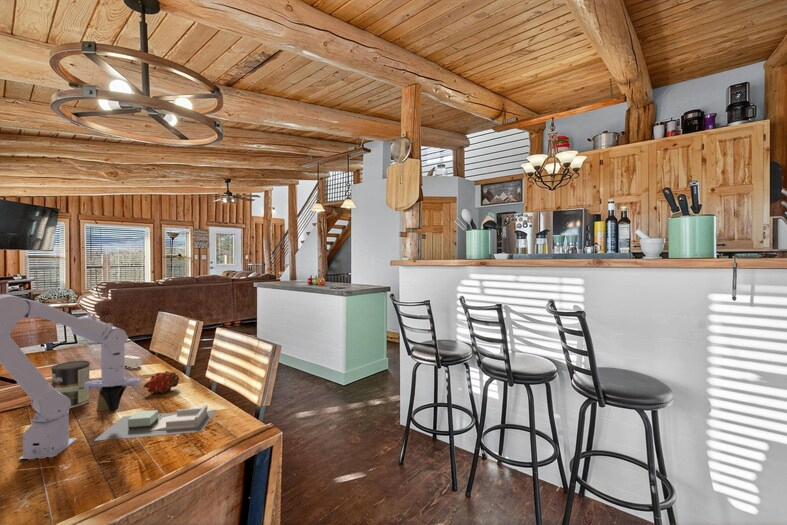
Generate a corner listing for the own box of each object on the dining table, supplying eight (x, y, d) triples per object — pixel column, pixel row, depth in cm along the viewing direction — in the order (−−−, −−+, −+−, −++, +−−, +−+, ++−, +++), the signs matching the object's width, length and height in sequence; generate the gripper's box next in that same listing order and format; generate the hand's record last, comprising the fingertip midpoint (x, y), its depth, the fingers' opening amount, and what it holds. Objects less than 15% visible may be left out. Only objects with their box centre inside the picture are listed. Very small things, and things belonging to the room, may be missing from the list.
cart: (151, 428, 111) (151, 417, 111) (127, 430, 110) (126, 419, 110) (159, 420, 117) (159, 410, 117) (136, 422, 115) (136, 411, 115)
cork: (106, 412, 123) (106, 380, 123) (92, 411, 124) (91, 379, 124) (123, 405, 129) (122, 374, 129) (109, 404, 130) (108, 373, 130)
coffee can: (59, 412, 123) (59, 370, 123) (46, 406, 128) (45, 366, 128) (95, 401, 132) (95, 362, 132) (82, 396, 137) (81, 359, 137)
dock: (201, 434, 109) (201, 421, 109) (93, 443, 104) (93, 430, 104) (216, 412, 125) (216, 400, 125) (123, 419, 119) (123, 407, 119)
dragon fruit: (182, 392, 145) (146, 404, 138) (177, 376, 150) (142, 386, 143) (181, 379, 140) (144, 391, 133) (176, 363, 145) (140, 373, 138)
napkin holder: (112, 367, 174) (111, 355, 174) (140, 362, 182) (140, 351, 182) (116, 374, 163) (116, 362, 163) (146, 369, 171) (146, 357, 171)
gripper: (145, 361, 117) (146, 403, 117) (94, 363, 114) (94, 406, 114) (134, 367, 110) (135, 412, 110) (79, 371, 107) (80, 416, 107)
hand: (113, 410), depth 112 cm, fingers closed
